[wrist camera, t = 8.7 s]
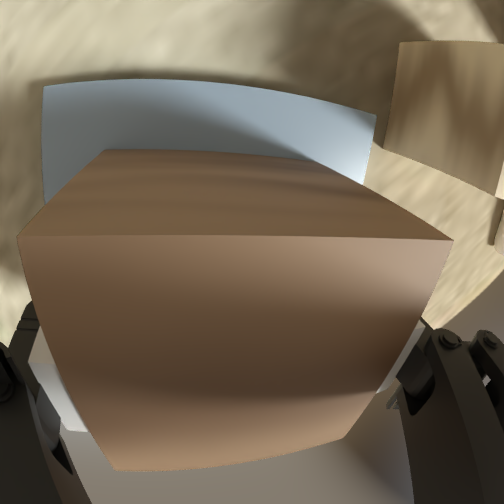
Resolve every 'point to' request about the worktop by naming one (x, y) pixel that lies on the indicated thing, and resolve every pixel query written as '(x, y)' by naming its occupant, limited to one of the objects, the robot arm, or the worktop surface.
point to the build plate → (195, 124)
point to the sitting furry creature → (500, 237)
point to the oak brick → (451, 110)
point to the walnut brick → (223, 301)
